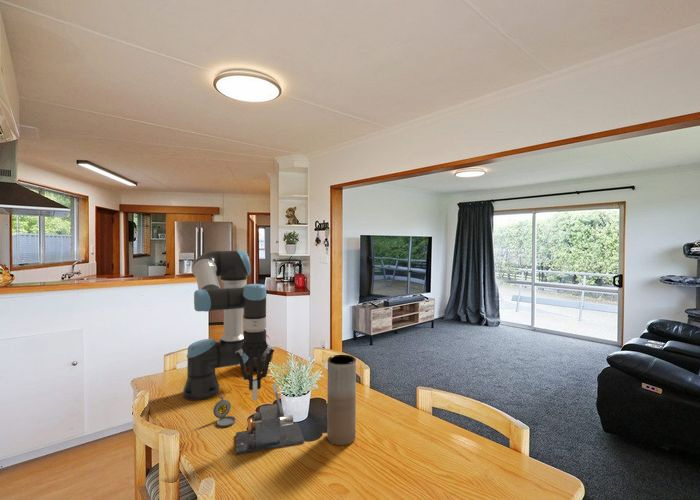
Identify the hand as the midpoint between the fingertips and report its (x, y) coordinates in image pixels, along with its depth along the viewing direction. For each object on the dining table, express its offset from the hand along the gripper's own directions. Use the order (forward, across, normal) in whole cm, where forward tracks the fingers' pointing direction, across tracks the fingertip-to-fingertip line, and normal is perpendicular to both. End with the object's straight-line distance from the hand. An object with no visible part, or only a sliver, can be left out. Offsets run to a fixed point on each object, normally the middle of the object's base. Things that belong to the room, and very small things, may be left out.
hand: (254, 398), depth 116 cm
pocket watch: (+15, -10, +17) cm, 25 cm away
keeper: (+5, +9, 0) cm, 10 cm away
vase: (+15, +5, +72) cm, 74 cm away
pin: (+12, +5, 0) cm, 13 cm away
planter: (+15, +29, -7) cm, 33 cm away
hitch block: (+15, +4, 0) cm, 16 cm away
